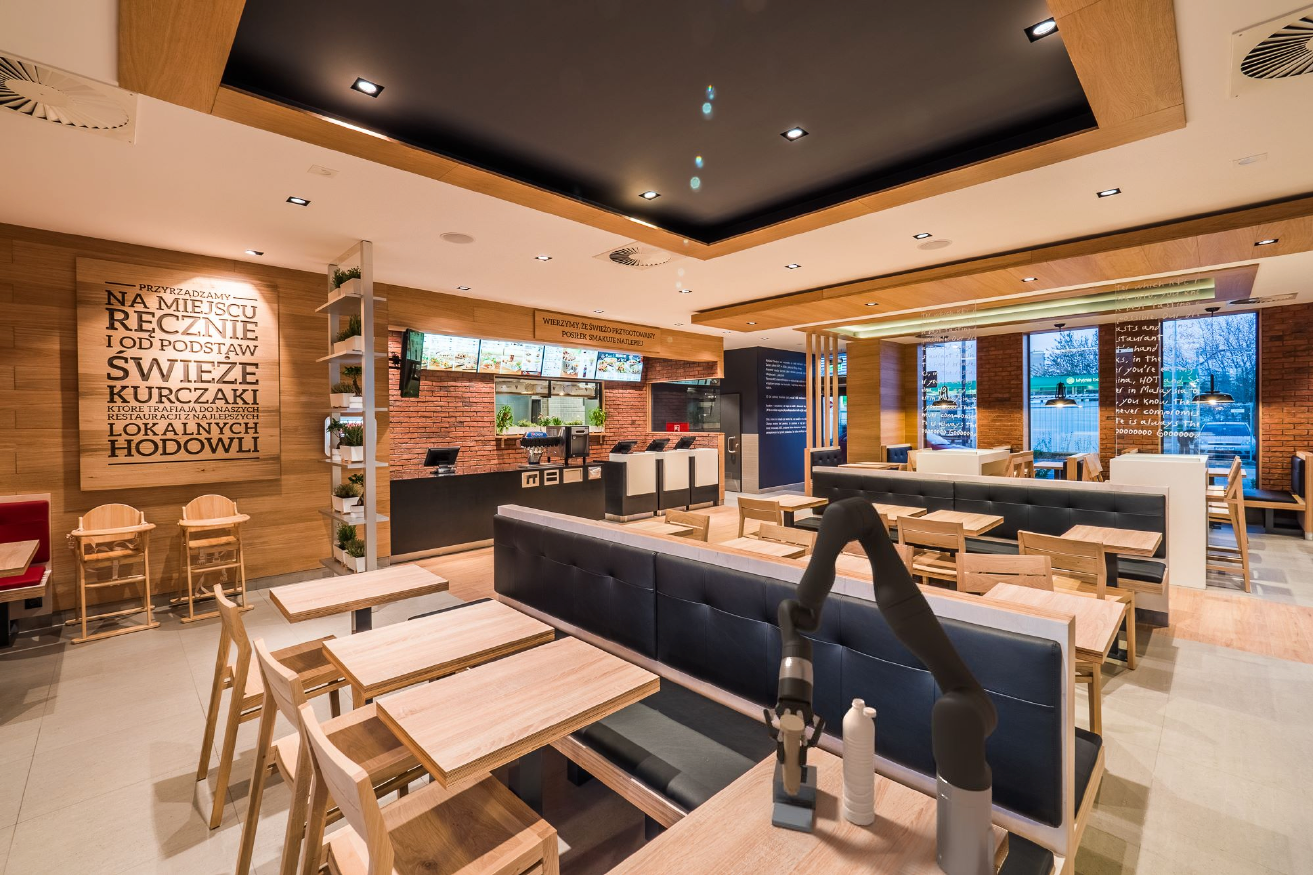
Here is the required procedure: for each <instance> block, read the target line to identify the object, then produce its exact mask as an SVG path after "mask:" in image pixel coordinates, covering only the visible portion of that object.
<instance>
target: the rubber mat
mask: <svg viewBox="0 0 1313 875" xmlns="http://www.w3.org/2000/svg"><path fill="white" fill-rule="evenodd" d="M771 816H772V817H771V825H772V826H776V827H780V828H785V829H791V830H796V831H800V832H805V833H810V834H811V833H812V826H813V825H812V823H813V822H812V821H813V810H812V809H807V808H802V807H797V806H791V805H786V804H781V803H776V802H775V803H774V804H773V811H772V815H771Z"/></svg>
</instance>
